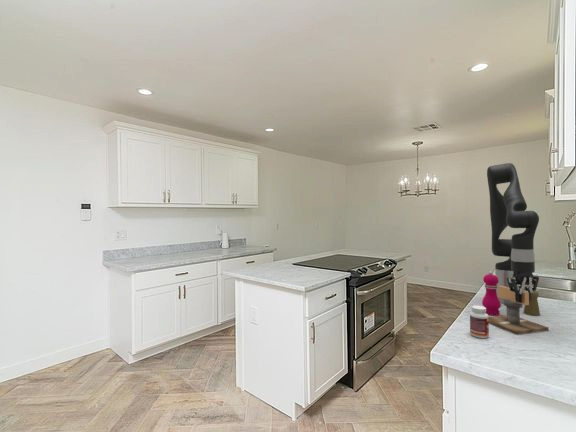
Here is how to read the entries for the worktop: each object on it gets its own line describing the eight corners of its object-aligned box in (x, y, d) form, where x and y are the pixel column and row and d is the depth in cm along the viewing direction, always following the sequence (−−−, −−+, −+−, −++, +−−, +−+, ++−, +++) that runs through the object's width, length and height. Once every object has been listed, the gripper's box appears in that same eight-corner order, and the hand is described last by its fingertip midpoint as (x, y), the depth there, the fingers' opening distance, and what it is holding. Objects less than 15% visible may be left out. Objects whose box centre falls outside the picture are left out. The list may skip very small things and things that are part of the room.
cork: (526, 315, 136) (525, 291, 136) (521, 311, 142) (521, 288, 142) (542, 316, 134) (542, 292, 134) (537, 312, 140) (536, 289, 140)
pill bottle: (491, 339, 112) (490, 310, 111) (472, 337, 113) (472, 309, 113) (485, 333, 117) (485, 305, 117) (468, 331, 119) (467, 304, 119)
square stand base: (510, 317, 134) (510, 299, 134) (548, 330, 119) (548, 310, 119) (481, 320, 131) (481, 302, 131) (516, 334, 115) (515, 314, 115)
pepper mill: (495, 311, 143) (494, 269, 143) (504, 316, 136) (503, 272, 136) (479, 310, 144) (478, 269, 144) (487, 315, 137) (487, 272, 136)
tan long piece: (506, 301, 131) (505, 284, 131) (533, 309, 120) (533, 290, 120) (494, 302, 130) (493, 285, 130) (520, 310, 118) (520, 292, 118)
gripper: (527, 257, 125) (528, 298, 126) (499, 259, 123) (500, 300, 123) (546, 260, 118) (547, 303, 118) (517, 262, 115) (518, 306, 115)
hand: (523, 301), depth 120 cm, fingers open, 3 cm apart
